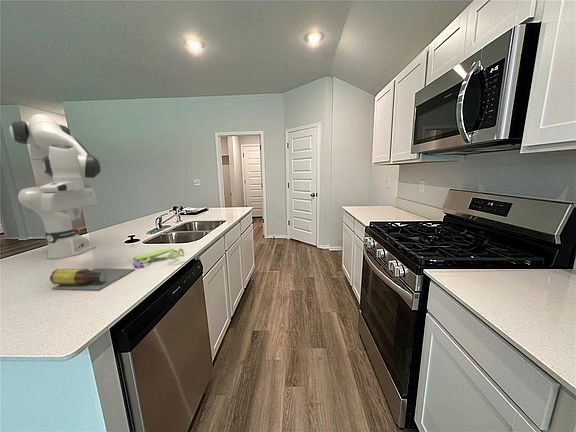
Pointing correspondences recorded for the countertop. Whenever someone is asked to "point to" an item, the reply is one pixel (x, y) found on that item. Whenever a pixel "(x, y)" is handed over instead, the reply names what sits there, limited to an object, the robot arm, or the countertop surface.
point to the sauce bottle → (76, 276)
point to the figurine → (154, 254)
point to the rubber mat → (97, 286)
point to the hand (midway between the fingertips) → (75, 219)
